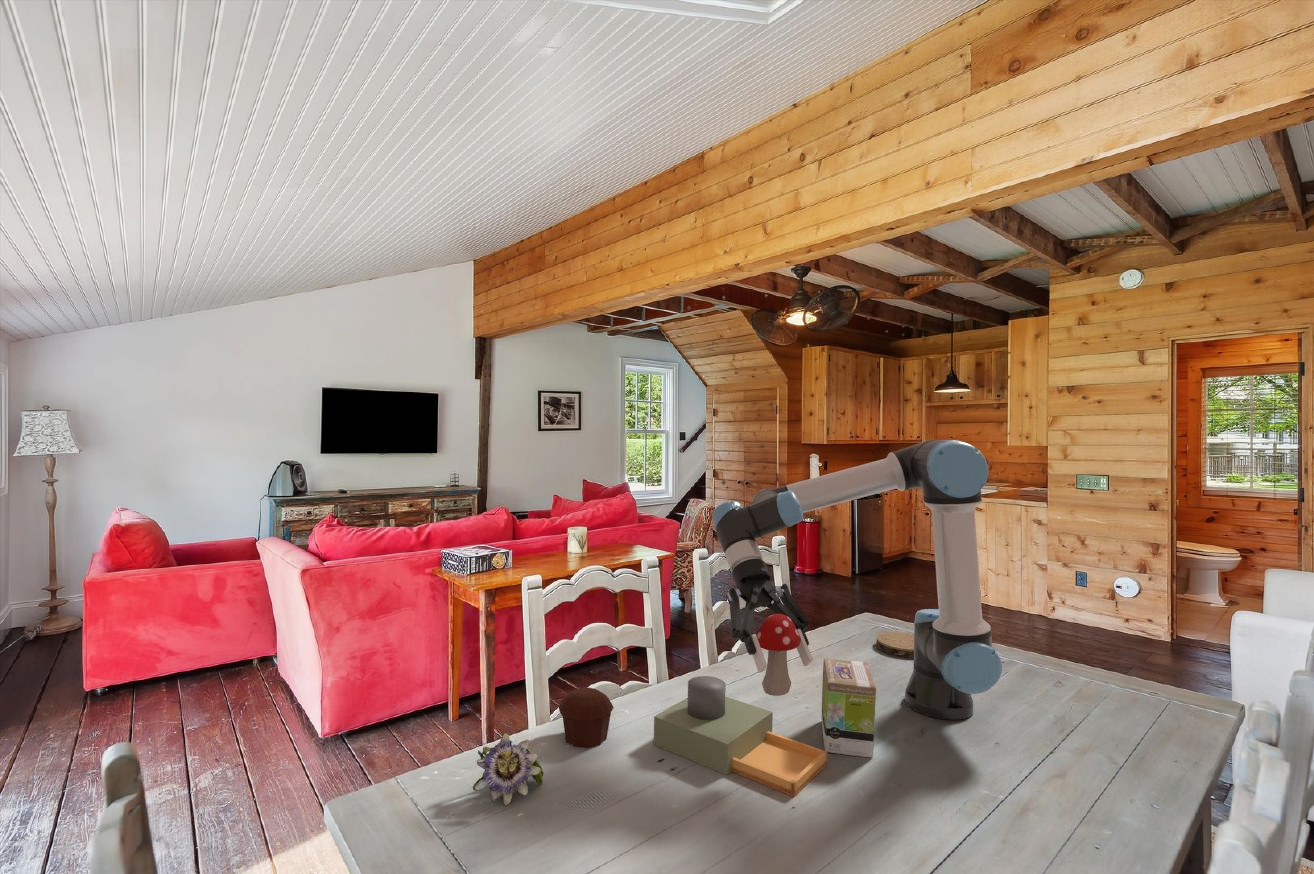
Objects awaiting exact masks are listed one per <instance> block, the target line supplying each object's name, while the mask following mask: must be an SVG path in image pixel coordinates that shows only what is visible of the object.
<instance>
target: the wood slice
mask: <svg viewBox="0 0 1314 874" xmlns="http://www.w3.org/2000/svg"><path fill="white" fill-rule="evenodd" d="M875 641H876V644H875V645H876V648H877V649H878V651H880V652H882V653H884V654H886V655H889V656H893V657H897V658H903V659H910V660H912V659H913V660H914V633H909V632H904V631H903V632H901V631H885V632H881V633H878V634H877V635H876V640H875Z"/></svg>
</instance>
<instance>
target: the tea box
mask: <svg viewBox="0 0 1314 874" xmlns="http://www.w3.org/2000/svg"><path fill="white" fill-rule="evenodd" d="M821 695H822V696H821V727H822V735H823V736H822V737H823V747H824V751H827V752H828V753H832V754H838V755H847V756H855V757H861V758H874V753H875V752H874V748H875V747H874V746H875V744H874V743H875V725H876V723H875V721H876V700H877V688H876V684H875V681H874V677H873V675H872V672H871V669H870V666H869V663H868V662H866V661H856V660H847V659H836V658H828V657H827V658H826V657H824V658H823V667H822V692H821Z"/></svg>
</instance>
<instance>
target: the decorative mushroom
mask: <svg viewBox="0 0 1314 874" xmlns="http://www.w3.org/2000/svg"><path fill="white" fill-rule="evenodd" d="M755 634H756V636H757V639H758V641H759V644H760V647H761V649H763V650H766V651H767V661H766V663H767V667H766V668H765V675H764V677H763V679H762V683H761V685H762V688H763V692H764V693H765V694H766V695H768V696H772V697H774V696H775V697H779V696H784V695H786V694H788V693H789V692H790V689H791V688H792V687H791V686H792V681H791V678H790V674H789V669H788V652H787V651H791V650H795V649H797V647H798V646H799V645H800V635H799V633H798V631H797V629H796V628H795V625H794V623H793V622H792V620H791V619H790V618H789V617H787V616H786V615H783V614H775V613H774V614H772V615H769V616H768V617H766V618H765V619H764V620H763V622H762V623H761V625H760V627H759V629H758V630H757V631H756V633H755Z"/></svg>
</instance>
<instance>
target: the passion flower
mask: <svg viewBox="0 0 1314 874" xmlns="http://www.w3.org/2000/svg"><path fill="white" fill-rule="evenodd" d="M510 738H511V737H510V736H509V734H508V733H506V732H504V734H503V735H502V736H501V738H500V740H499V742H498V743H497V744H495V746H494V747H489V746H485V745H484V746H483V747H482V752H481V750H479V749H478V750H477V754H478V755H479V756H480V759H478V761H476V765H477V766H479V767H480V768H481V769H483V770H484V771H483V772H482V776H481V777H479V779H478V780H477V781H476V782H475V783H474V784H473V786H472V790H473V791H481V790H483V789H485V788H489V791H490V792H489V793H490V794H489V795H490V799H491V802H495V801H496V800H498V799H501V800H502V804H503V805H504V806H505V807H507V806H509V804H510V803H511V801H512V798H513V794H514V793H515V792H518V793H519V794H520V795H522V796H527V794H528V790H529V786H528V782H529V777H532V778H533V780H534V781H535V782H536V783H537V784H536V785H537V786H539V787H540V786H541V785H542V783H543V782H544V781H543V780H544V779H543V778H544V777H543V776H544V774H545V773H544V770H543V768H542V765H541V764H540V763H539V761H537V759H538V757H539V756H538V754H537V753H531V750H530V749H529V748H528V747H529V746H530V742H531V741H530V739H528V738H526V739H525V740H522V741H520V742H519V743H518V744H513V745H512V743H513V740H511V739H510Z"/></svg>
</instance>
